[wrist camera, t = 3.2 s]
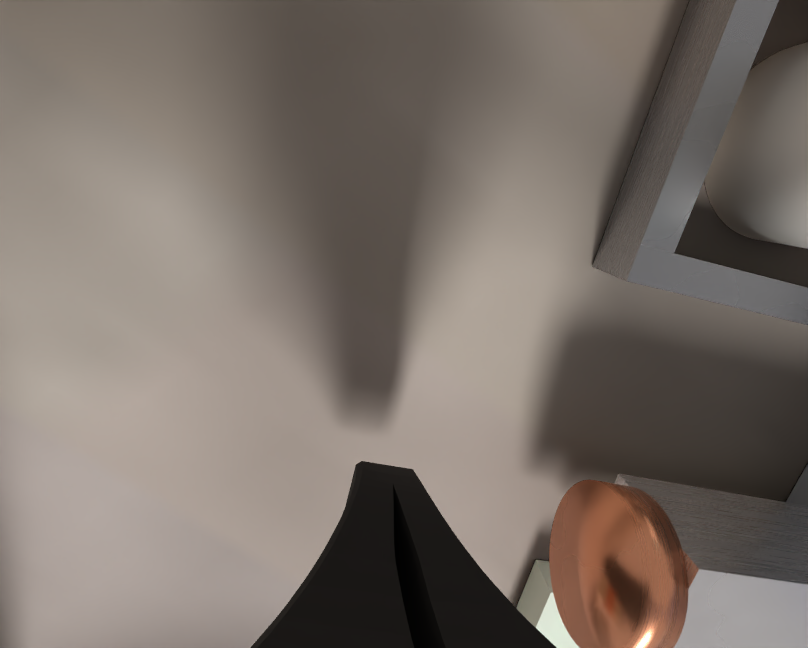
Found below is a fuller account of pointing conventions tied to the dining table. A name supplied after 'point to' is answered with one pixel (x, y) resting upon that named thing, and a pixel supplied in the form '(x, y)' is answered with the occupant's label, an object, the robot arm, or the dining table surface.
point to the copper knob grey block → (679, 567)
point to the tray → (543, 606)
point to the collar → (692, 165)
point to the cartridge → (766, 154)
